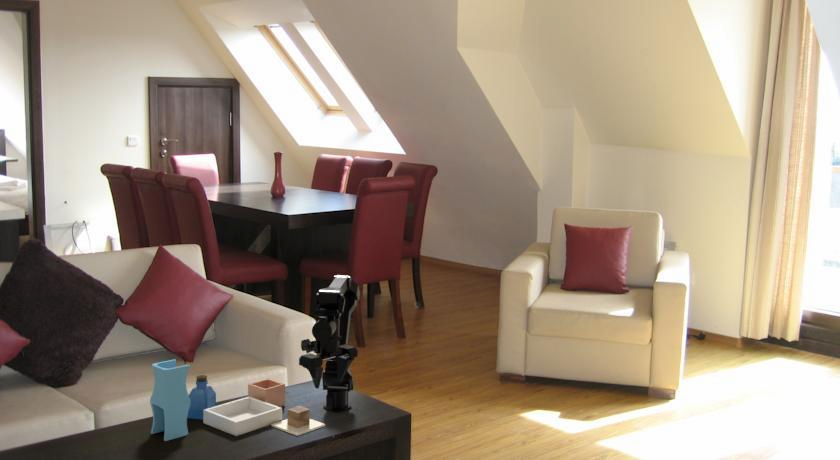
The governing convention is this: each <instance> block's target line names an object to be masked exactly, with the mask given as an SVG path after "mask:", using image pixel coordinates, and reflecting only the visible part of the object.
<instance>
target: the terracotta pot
mask: <svg viewBox="0 0 840 460" xmlns="http://www.w3.org/2000/svg"><path fill="white" fill-rule="evenodd" d="M249 396H250V397H253V398H255V399H258V400H261V401H264V402H267V403H270V404H272V405H275V406H278V407H281V408H283V407H286V383H283V382H280V381H277V380H273V379H271V378H266V379H264V378H263V379H261V380H257V381H254V382H251V383H248V384H247V397H249Z"/></svg>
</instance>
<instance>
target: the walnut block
mask: <svg viewBox="0 0 840 460" xmlns="http://www.w3.org/2000/svg"><path fill="white" fill-rule="evenodd" d="M310 411H311V410H310V408H307V407H305V406H301V405H297V406H294V407H290V408H288V409H287V418H286V419H287V424H288V425H291V426H294V427H296V428H300V427H303V426H306V425H309V423H310V419H311V418H310V414H311V412H310Z"/></svg>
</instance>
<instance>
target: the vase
mask: <svg viewBox="0 0 840 460" xmlns="http://www.w3.org/2000/svg"><path fill="white" fill-rule="evenodd" d="M190 366H191V364H185V365H181V366H177V359H176V358H175V359H170V360H166V361H165V360H164V361H161V362H160V361H159V362H155V363H152V364H151V368H152V371H153V375H154V376H153V377H154V385H153V386H154V387H153V389H152V394H151V396H150V399H149V403H150V407H151V411H152V418H153V419H152V425H151V430H150V434H151V435H153V434H154V435H155V434H157V433H161V432H164V434H163V441H164V442H167V441H170V440H175V439H177V438H178V439H179V438H181V437H185V436H188V435H189V429H188V418H187V415H188V410H189V407H190V398H189V394H188V390H187V378H188V377H187V376H188V373H189V371H190V370H189V369H190Z"/></svg>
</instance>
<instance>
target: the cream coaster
mask: <svg viewBox="0 0 840 460" xmlns="http://www.w3.org/2000/svg"><path fill="white" fill-rule="evenodd" d="M270 426H271V427H272V428H275V429H278V430H280V431H283V432H286V433H288V434H290V435H294V436H296V437H298V436H302V435H304V434H307V433H310V432H312V431H315V430H318V429H320V428H321V429H322V428H324V427H326V423H323V422H321V421H318V420H315V419H311V418H310V423H309V425H306V426H303V427H300V428H296V427H294V426H291V425H288V424H287V418H286V419H282V421H280V422H277V423H274V424H271V425H270Z"/></svg>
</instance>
